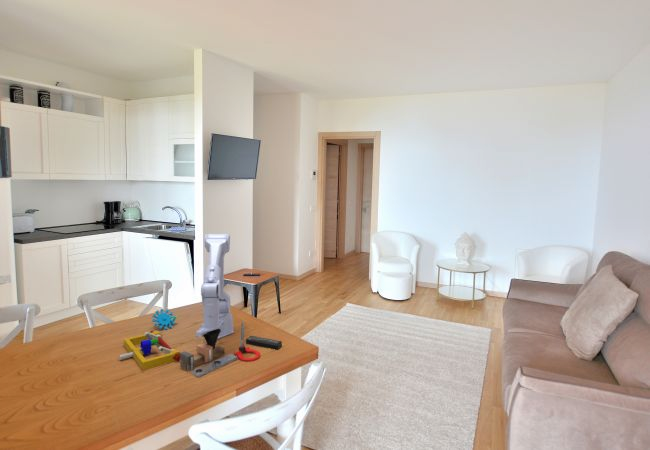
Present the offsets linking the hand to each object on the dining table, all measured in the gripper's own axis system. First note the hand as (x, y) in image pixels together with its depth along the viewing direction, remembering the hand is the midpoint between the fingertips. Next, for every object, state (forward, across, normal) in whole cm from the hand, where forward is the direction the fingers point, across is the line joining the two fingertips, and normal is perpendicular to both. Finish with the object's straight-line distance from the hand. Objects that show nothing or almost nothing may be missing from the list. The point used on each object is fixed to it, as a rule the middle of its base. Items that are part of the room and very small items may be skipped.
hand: (211, 348), depth 149 cm
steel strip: (+3, +5, +6) cm, 8 cm away
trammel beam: (+3, +4, -1) cm, 5 cm away
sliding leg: (+3, +3, -1) cm, 5 cm away
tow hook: (+4, -7, +12) cm, 14 cm away
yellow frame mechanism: (+4, +8, -25) cm, 27 cm away
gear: (+4, -15, -37) cm, 40 cm away
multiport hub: (+4, -18, +12) cm, 22 cm away
